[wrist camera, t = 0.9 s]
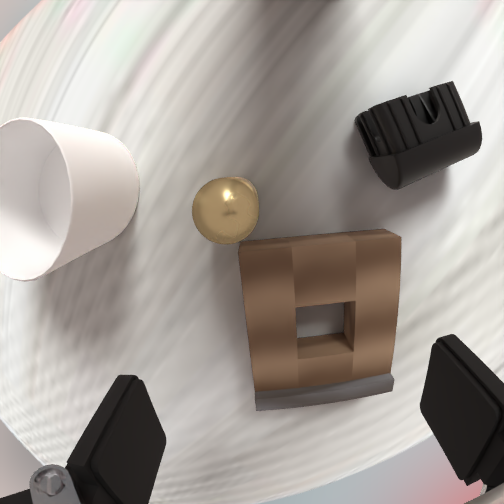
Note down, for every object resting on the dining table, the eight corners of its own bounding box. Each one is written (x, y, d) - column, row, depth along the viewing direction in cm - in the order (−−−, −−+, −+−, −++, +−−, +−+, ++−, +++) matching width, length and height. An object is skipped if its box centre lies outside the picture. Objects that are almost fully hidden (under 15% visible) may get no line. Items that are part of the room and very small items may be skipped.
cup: (160, 212, 29) (102, 238, 17) (75, 262, 30) (5, 304, 18) (112, 109, 26) (39, 83, 14) (34, 170, 27) (-44, 176, 16)
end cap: (377, 188, 28) (409, 193, 21) (348, 119, 26) (373, 105, 20) (451, 155, 27) (491, 154, 20) (426, 92, 25) (462, 78, 19)
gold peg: (211, 179, 28) (188, 182, 18) (255, 174, 28) (255, 174, 18) (216, 222, 29) (196, 247, 19) (260, 218, 29) (262, 241, 19)
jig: (240, 241, 29) (237, 256, 24) (384, 228, 29) (407, 239, 24) (256, 381, 33) (256, 412, 28) (376, 366, 32) (391, 392, 27)
